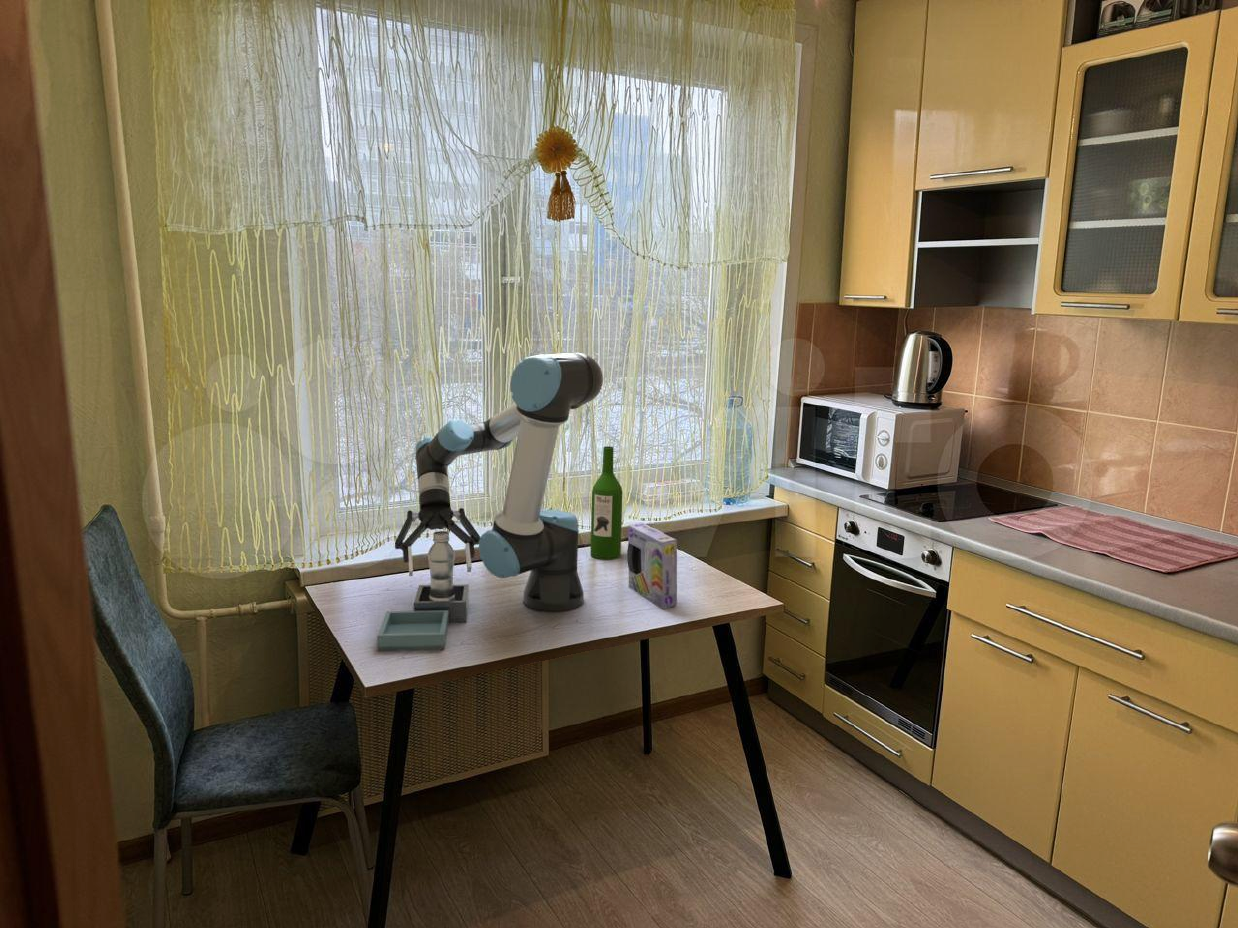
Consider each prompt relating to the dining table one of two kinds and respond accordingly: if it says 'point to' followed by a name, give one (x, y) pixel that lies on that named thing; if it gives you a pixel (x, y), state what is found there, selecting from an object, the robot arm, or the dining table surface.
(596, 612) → the dining table surface
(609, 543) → the wine bottle
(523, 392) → the robot arm
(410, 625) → the tray
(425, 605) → the holder sleeve
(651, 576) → the purple product box
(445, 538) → the metal bottle
